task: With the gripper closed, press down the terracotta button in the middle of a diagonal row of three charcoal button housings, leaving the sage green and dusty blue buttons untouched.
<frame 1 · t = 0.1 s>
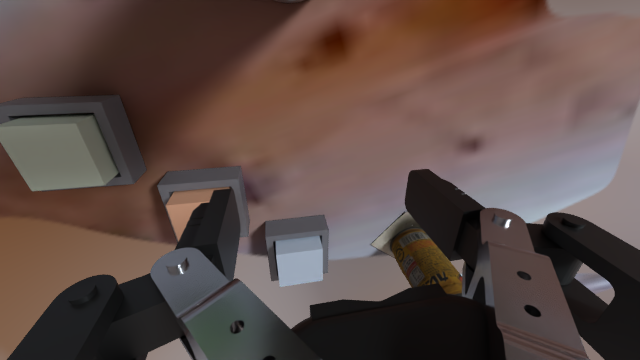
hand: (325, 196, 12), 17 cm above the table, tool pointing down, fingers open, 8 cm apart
dusty blue button: (299, 259, 32), point 3 cm above the table, slide at 0.0 cm
sage green button: (65, 151, 22), point 4 cm above the table, slide at 0.0 cm
button panel: (211, 198, 30), on the table
condiment: (404, 238, 39), on the table
terracotta button: (205, 216, 27), point 4 cm above the table, slide at 0.0 cm
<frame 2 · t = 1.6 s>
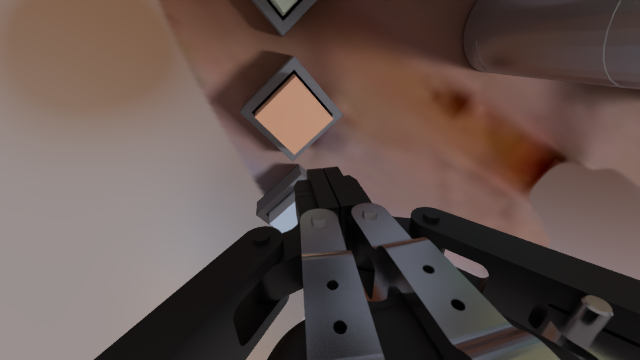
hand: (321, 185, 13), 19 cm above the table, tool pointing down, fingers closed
dusty blue button: (300, 215, 32), point 4 cm above the table, slide at 0.0 cm
button panel: (291, 107, 29), on the table
terracotta button: (293, 114, 26), point 4 cm above the table, slide at 0.0 cm
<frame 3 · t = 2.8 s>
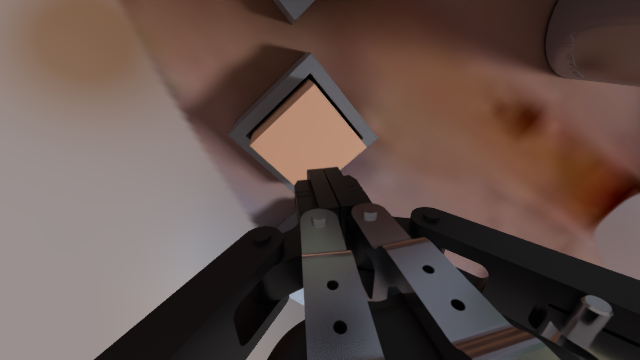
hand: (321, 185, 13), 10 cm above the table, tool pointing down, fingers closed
dusty blue button: (312, 268, 24), point 3 cm above the table, slide at 0.0 cm
button panel: (302, 125, 21), on the table
terracotta button: (307, 139, 18), point 3 cm above the table, slide at 0.0 cm
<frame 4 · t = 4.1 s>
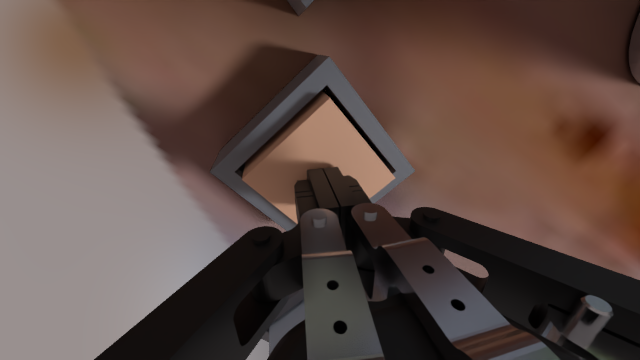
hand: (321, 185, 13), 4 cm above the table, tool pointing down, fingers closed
dusty blue button: (323, 329, 19), point 3 cm above the table, slide at 0.0 cm
button panel: (311, 150, 16), on the table
terracotta button: (317, 166, 14), point 2 cm above the table, slide at 1.2 cm, touching gripper
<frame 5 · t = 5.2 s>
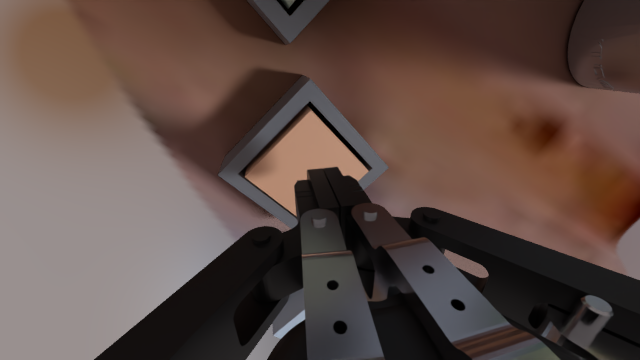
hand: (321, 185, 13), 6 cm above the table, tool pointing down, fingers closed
dusty blue button: (319, 310, 21), point 3 cm above the table, slide at 0.0 cm
button panel: (302, 154, 19), on the table
terracotta button: (306, 164, 17), point 2 cm above the table, slide at 1.6 cm
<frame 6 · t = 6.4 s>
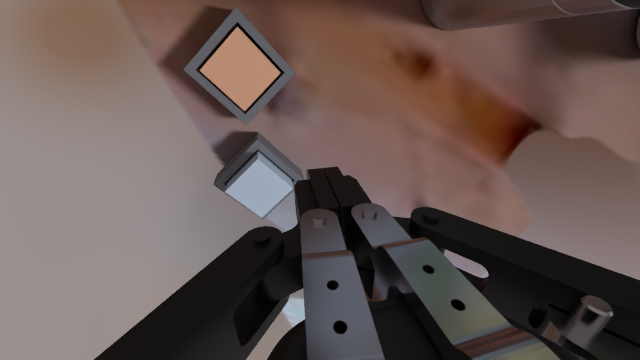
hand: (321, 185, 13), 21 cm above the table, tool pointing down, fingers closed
dusty blue button: (260, 184, 31), point 3 cm above the table, slide at 0.0 cm
button panel: (243, 69, 28), on the table
terracotta button: (242, 70, 26), point 2 cm above the table, slide at 1.6 cm
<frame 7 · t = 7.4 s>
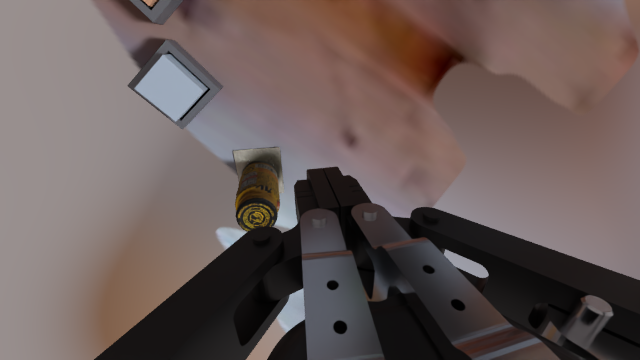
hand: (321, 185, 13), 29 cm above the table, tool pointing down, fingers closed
dusty blue button: (173, 88, 32), point 3 cm above the table, slide at 0.0 cm
condiment: (260, 171, 43), on the table
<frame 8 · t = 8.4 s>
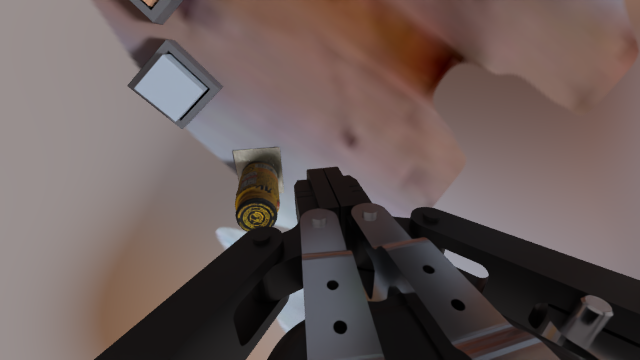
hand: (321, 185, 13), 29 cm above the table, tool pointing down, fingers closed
dusty blue button: (173, 88, 32), point 3 cm above the table, slide at 0.0 cm
condiment: (260, 171, 43), on the table
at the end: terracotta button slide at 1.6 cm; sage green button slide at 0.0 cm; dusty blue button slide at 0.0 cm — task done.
